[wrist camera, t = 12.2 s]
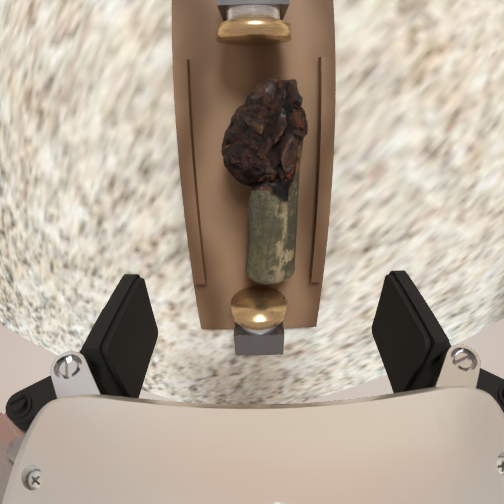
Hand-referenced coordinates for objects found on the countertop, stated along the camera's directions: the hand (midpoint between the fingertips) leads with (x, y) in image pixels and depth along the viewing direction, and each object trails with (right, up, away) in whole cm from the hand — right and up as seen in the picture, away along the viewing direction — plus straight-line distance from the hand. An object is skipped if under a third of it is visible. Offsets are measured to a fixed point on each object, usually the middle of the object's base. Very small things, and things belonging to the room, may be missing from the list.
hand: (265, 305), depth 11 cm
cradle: (0, +10, +17) cm, 20 cm away
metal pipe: (+1, +9, +16) cm, 19 cm away
